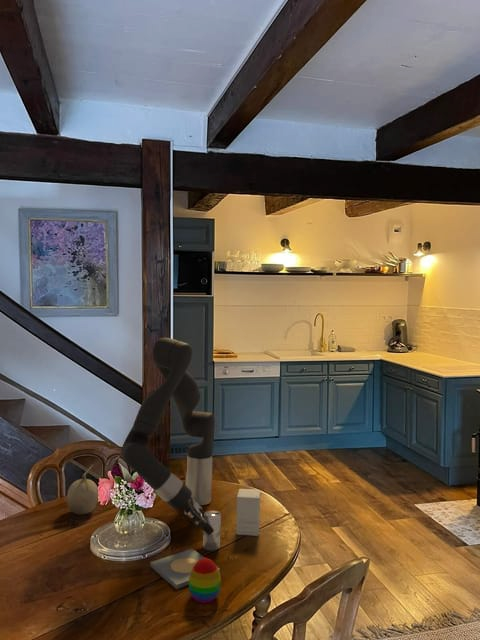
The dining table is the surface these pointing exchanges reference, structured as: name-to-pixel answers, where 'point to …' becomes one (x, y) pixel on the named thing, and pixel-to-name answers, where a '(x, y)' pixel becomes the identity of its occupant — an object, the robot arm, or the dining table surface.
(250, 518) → the supplement box
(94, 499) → the fruit
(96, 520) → the dining table surface
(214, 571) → the decorative egg
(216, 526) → the clear glass cylinder
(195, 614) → the dining table surface
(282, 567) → the dining table surface
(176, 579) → the flange plate
